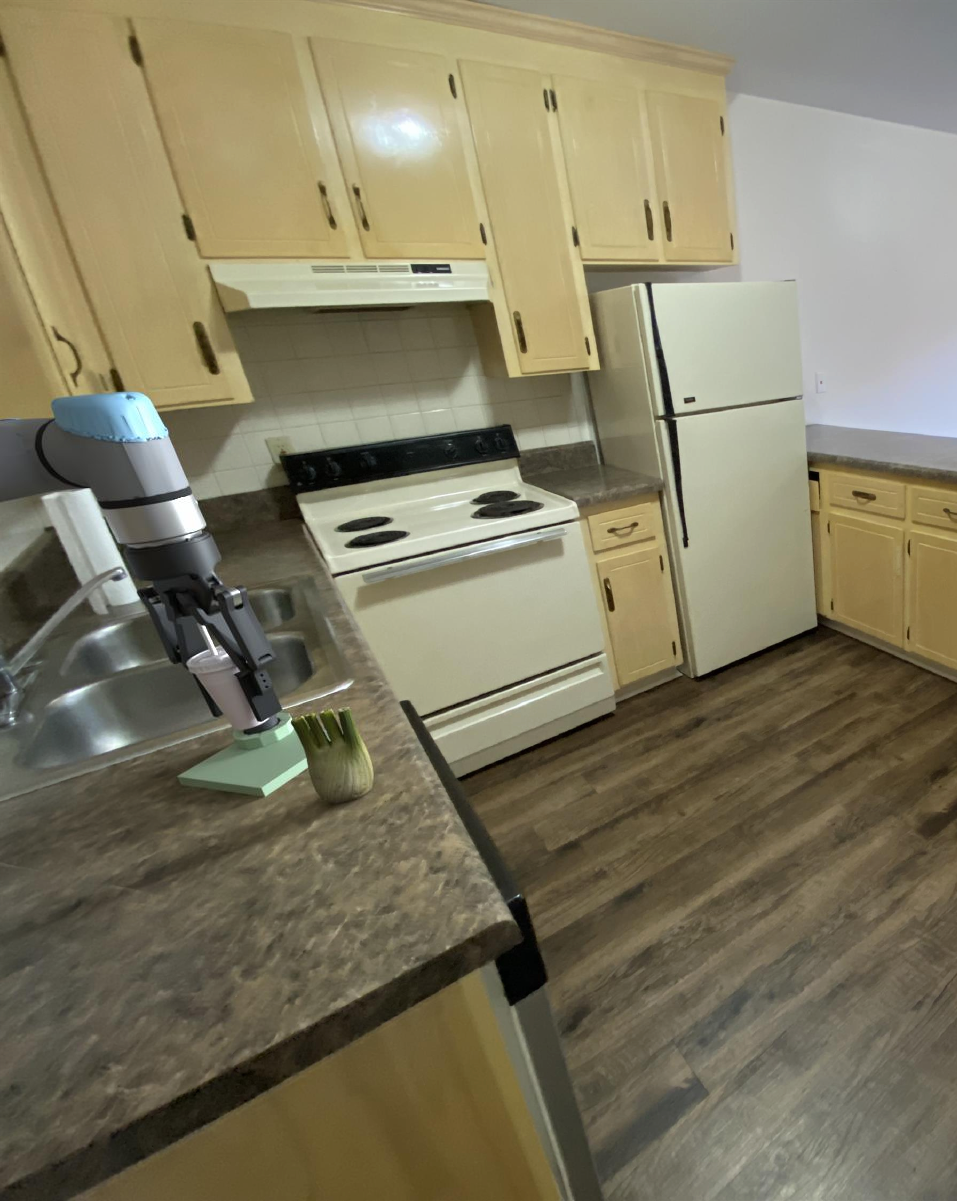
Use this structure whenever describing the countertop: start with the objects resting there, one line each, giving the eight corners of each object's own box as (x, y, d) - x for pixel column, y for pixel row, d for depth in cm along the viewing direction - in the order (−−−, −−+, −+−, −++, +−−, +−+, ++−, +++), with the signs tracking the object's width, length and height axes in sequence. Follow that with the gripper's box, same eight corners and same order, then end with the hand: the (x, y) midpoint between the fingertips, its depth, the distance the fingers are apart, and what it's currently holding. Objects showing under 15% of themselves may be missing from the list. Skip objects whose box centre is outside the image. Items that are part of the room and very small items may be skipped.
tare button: (240, 734, 89) (234, 723, 88) (265, 719, 92) (260, 709, 92) (260, 736, 88) (255, 725, 88) (285, 721, 91) (280, 711, 91)
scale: (179, 785, 84) (169, 766, 82) (274, 728, 95) (266, 711, 94) (265, 797, 80) (255, 777, 79) (353, 737, 92) (345, 719, 90)
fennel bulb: (386, 783, 81) (354, 701, 77) (358, 810, 77) (322, 724, 72) (343, 782, 82) (309, 701, 77) (313, 809, 77) (275, 724, 73)
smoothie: (206, 734, 80) (154, 631, 75) (257, 705, 86) (212, 608, 80) (246, 738, 79) (196, 634, 73) (295, 709, 84) (252, 610, 79)
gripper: (265, 528, 74) (335, 703, 83) (141, 526, 78) (220, 692, 87) (195, 550, 67) (279, 737, 76) (63, 547, 72) (158, 724, 81)
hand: (248, 713), depth 82 cm, fingers closed on smoothie, 6 cm apart
